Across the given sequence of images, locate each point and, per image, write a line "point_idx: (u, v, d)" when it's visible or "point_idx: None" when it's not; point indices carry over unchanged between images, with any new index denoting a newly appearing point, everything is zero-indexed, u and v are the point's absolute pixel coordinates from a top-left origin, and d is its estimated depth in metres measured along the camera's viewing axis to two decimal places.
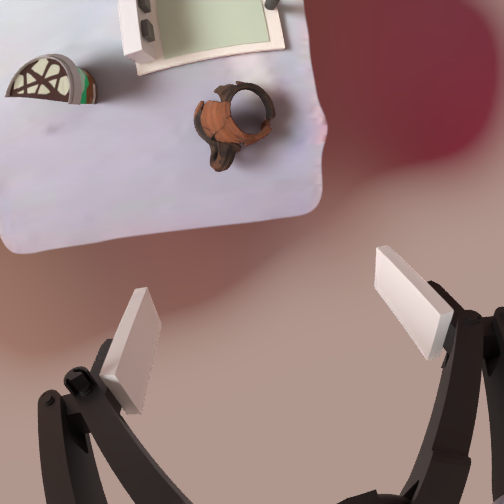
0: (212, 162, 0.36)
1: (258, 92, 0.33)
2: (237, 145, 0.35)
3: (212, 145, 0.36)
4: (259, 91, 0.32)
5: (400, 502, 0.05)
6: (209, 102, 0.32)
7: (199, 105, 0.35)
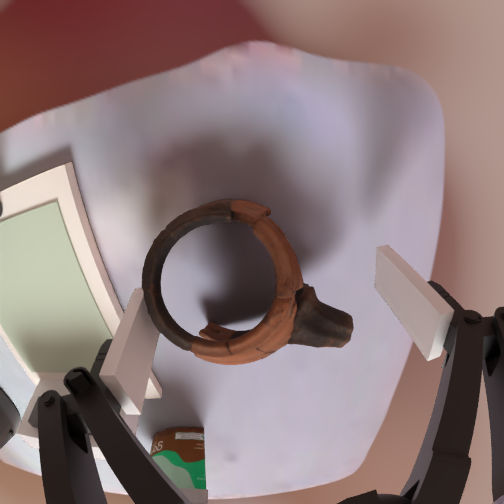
0: None
1: (163, 253, 0.14)
2: (302, 306, 0.15)
3: None
4: (160, 252, 0.14)
5: (400, 502, 0.05)
6: (198, 356, 0.16)
7: (208, 339, 0.19)
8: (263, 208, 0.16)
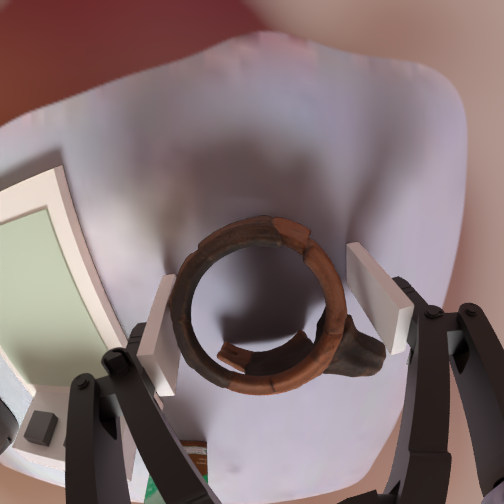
0: None
1: (198, 278, 0.12)
2: (344, 337, 0.13)
3: None
4: (195, 278, 0.12)
5: None
6: (226, 387, 0.14)
7: (227, 363, 0.18)
8: (306, 230, 0.14)
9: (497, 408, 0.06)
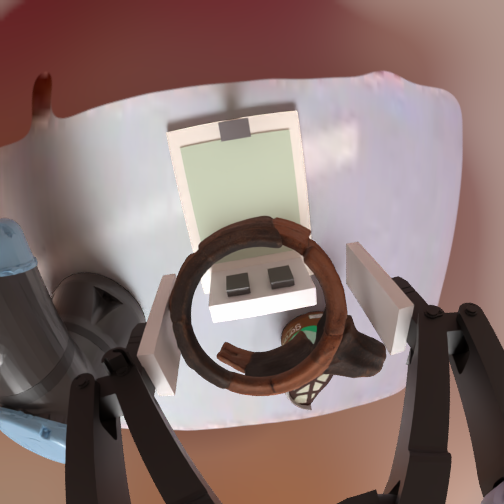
0: None
1: (198, 279, 0.12)
2: (344, 338, 0.13)
3: None
4: (195, 278, 0.12)
5: None
6: None
7: (227, 363, 0.18)
8: (306, 230, 0.14)
9: (497, 408, 0.06)
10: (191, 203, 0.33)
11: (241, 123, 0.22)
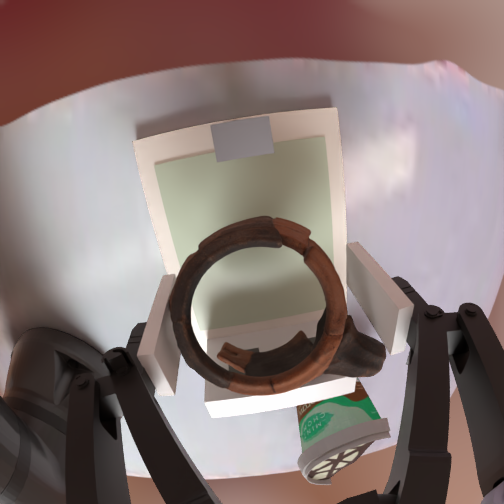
0: None
1: (198, 279, 0.12)
2: (344, 338, 0.13)
3: None
4: (195, 278, 0.12)
5: None
6: None
7: (227, 363, 0.18)
8: (306, 230, 0.14)
9: (497, 408, 0.06)
10: (175, 249, 0.22)
11: (256, 126, 0.11)
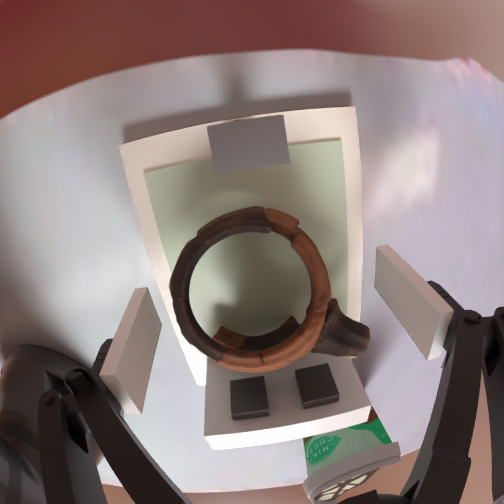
0: None
1: (196, 260, 0.14)
2: (329, 318, 0.15)
3: None
4: (193, 259, 0.14)
5: (400, 502, 0.05)
6: (220, 364, 0.16)
7: (222, 345, 0.19)
8: (295, 219, 0.16)
9: None
10: (169, 268, 0.19)
11: (266, 129, 0.09)
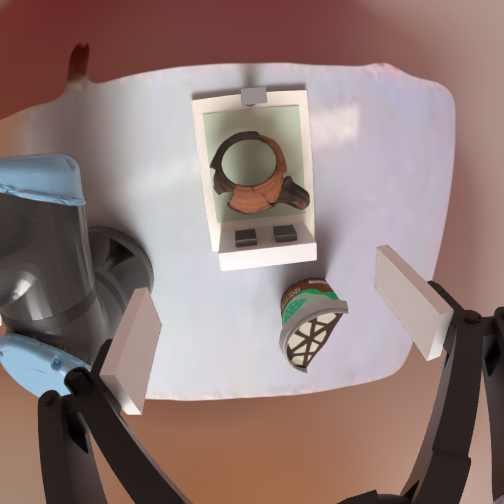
0: (298, 207, 0.34)
1: (226, 147, 0.31)
2: (285, 180, 0.32)
3: (279, 202, 0.35)
4: (225, 147, 0.30)
5: (400, 502, 0.05)
6: (231, 203, 0.32)
7: (231, 207, 0.36)
8: (271, 139, 0.33)
9: None
10: (208, 164, 0.36)
11: (260, 91, 0.26)
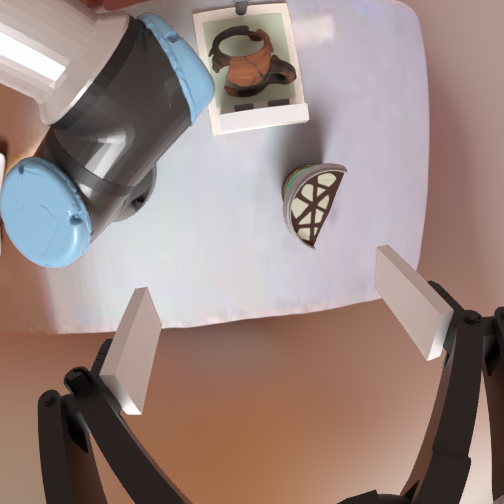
0: (287, 80, 0.34)
1: (222, 36, 0.31)
2: (273, 56, 0.32)
3: (270, 80, 0.35)
4: (221, 35, 0.31)
5: (400, 502, 0.05)
6: (228, 76, 0.33)
7: (228, 89, 0.36)
8: None
9: None
10: (208, 60, 0.36)
11: None
